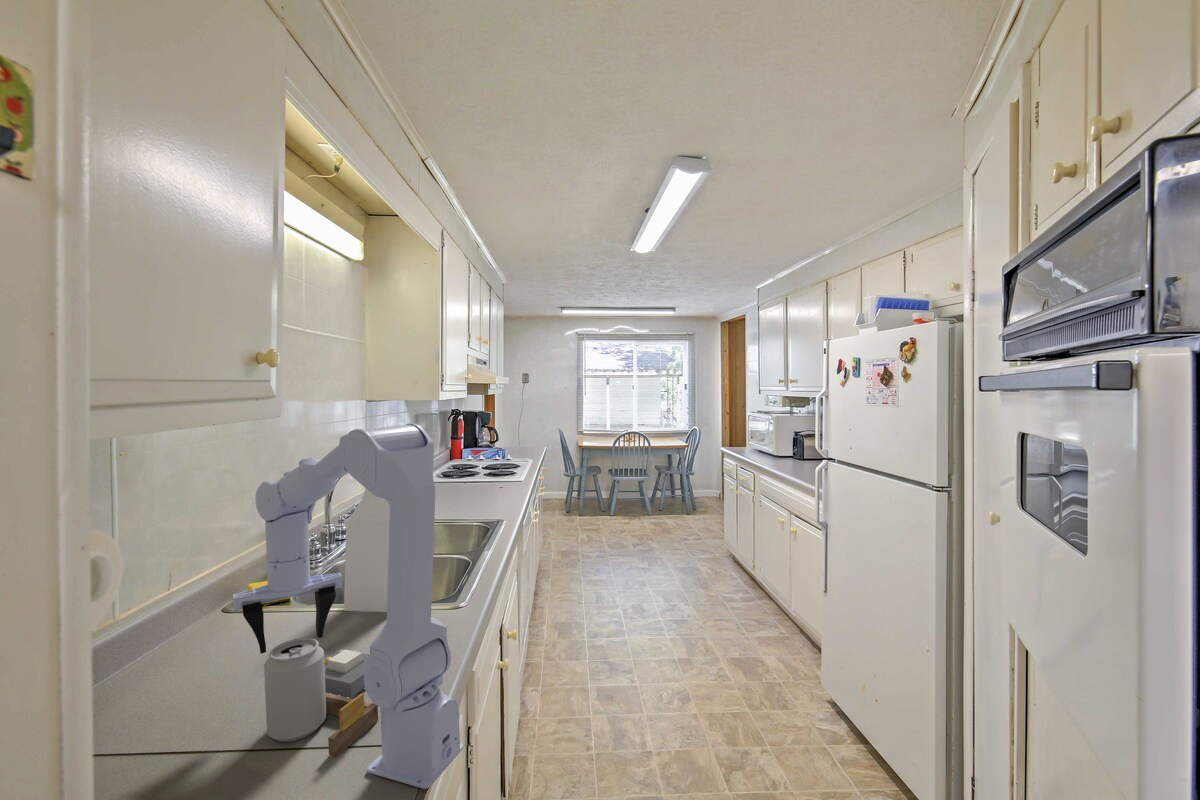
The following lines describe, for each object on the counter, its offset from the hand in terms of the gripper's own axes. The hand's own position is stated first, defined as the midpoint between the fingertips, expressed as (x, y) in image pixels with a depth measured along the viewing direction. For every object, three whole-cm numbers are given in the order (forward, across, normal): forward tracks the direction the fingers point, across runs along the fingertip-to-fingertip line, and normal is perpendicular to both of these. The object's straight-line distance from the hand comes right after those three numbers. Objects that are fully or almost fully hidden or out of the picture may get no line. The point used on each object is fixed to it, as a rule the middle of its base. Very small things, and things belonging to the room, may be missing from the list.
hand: (291, 642), depth 84 cm
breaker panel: (+9, -8, -2) cm, 12 cm away
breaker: (+8, -8, -2) cm, 11 cm away
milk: (+10, -21, -32) cm, 39 cm away
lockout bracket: (+9, -3, +11) cm, 15 cm away
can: (+10, 0, +8) cm, 12 cm away
